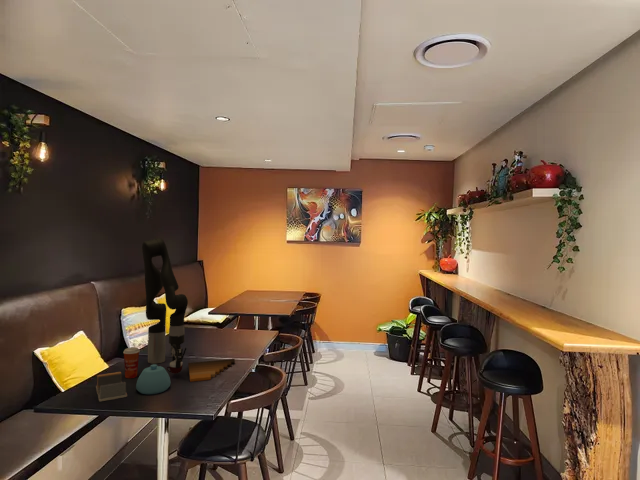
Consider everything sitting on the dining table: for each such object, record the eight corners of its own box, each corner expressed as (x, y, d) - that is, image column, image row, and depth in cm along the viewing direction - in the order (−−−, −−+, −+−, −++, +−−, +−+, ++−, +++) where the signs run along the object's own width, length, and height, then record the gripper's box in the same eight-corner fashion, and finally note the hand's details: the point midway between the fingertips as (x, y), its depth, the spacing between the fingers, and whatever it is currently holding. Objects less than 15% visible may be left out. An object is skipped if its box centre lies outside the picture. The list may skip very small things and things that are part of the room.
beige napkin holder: (95, 387, 192) (96, 374, 192) (121, 383, 198) (121, 371, 198) (99, 401, 176) (99, 387, 176) (127, 396, 182) (127, 383, 182)
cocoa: (166, 375, 205) (165, 352, 204) (169, 370, 211) (168, 348, 211) (185, 374, 206) (184, 350, 205) (188, 369, 212) (187, 347, 212)
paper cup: (121, 379, 203) (121, 351, 203) (124, 374, 211) (124, 347, 211) (138, 378, 205) (138, 350, 205) (140, 373, 213) (141, 346, 213)
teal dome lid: (160, 381, 202) (160, 358, 202) (176, 389, 192) (177, 364, 192) (130, 389, 190) (130, 365, 190) (146, 398, 181) (146, 372, 181)
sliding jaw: (97, 385, 192) (97, 375, 192) (120, 381, 197) (120, 371, 197) (97, 387, 190) (97, 376, 190) (121, 383, 195) (121, 373, 195)
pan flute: (233, 363, 233) (188, 367, 225) (234, 358, 233) (188, 361, 225) (240, 378, 210) (189, 383, 201) (240, 371, 210) (190, 376, 201)
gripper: (165, 331, 212) (165, 363, 213) (172, 337, 200) (172, 371, 201) (180, 329, 216) (180, 361, 217) (188, 335, 204) (187, 368, 205)
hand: (176, 365), depth 209 cm, fingers closed on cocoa, 6 cm apart
